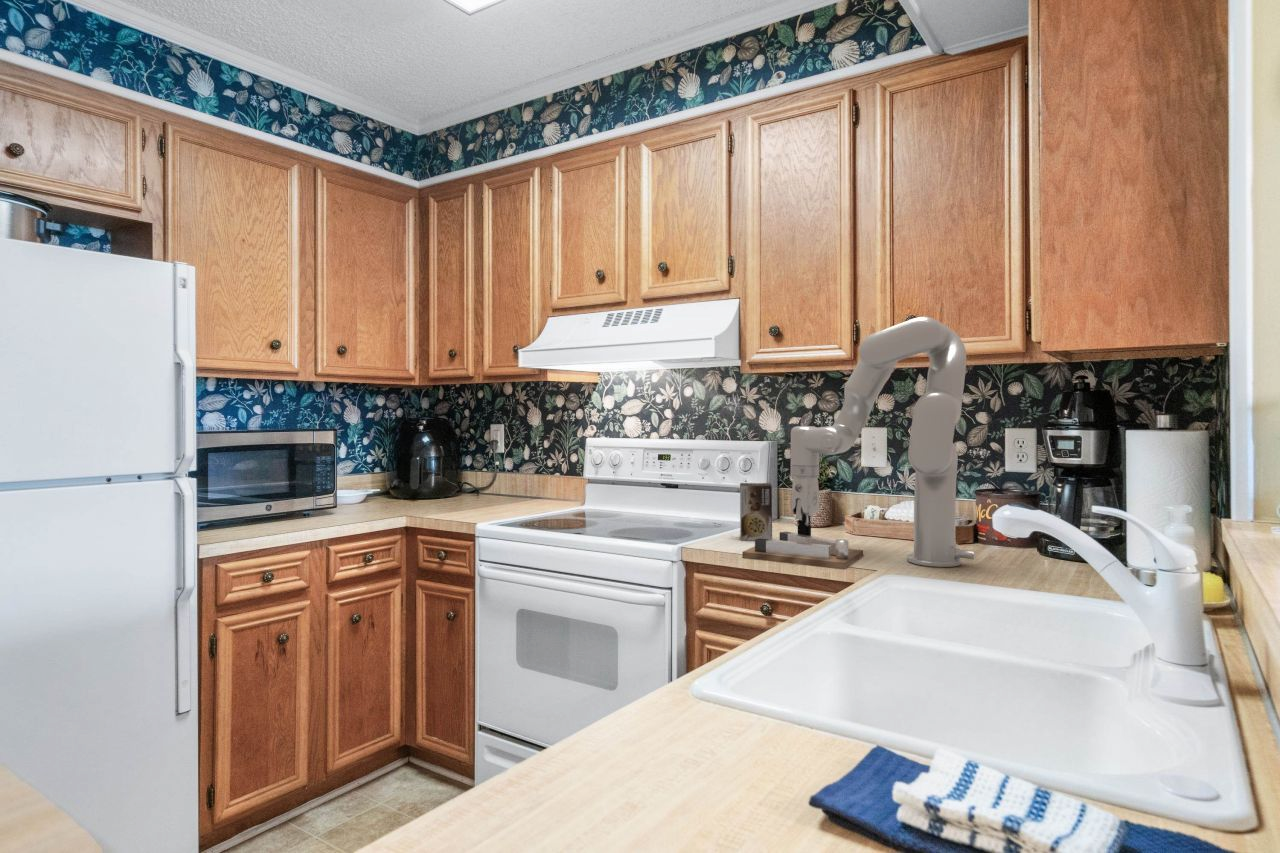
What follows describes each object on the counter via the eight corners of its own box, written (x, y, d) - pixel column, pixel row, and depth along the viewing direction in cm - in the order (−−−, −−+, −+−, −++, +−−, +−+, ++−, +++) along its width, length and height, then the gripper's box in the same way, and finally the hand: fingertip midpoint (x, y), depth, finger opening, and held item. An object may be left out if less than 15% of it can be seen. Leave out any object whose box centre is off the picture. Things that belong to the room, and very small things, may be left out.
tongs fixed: (849, 557, 183) (849, 539, 183) (845, 561, 179) (845, 542, 179) (760, 548, 194) (761, 531, 194) (754, 551, 191) (754, 534, 191)
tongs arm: (841, 554, 186) (841, 542, 186) (835, 555, 185) (835, 543, 184) (785, 542, 202) (785, 531, 201) (779, 543, 200) (779, 532, 200)
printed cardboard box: (770, 537, 220) (771, 482, 219) (772, 541, 213) (772, 485, 213) (739, 536, 221) (739, 482, 220) (740, 540, 214) (740, 484, 214)
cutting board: (863, 556, 193) (863, 550, 192) (844, 569, 177) (844, 562, 177) (767, 546, 206) (767, 540, 206) (742, 557, 190) (742, 551, 190)
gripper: (809, 474, 193) (809, 545, 193) (826, 470, 205) (826, 536, 206) (781, 473, 196) (781, 542, 197) (800, 469, 209) (799, 534, 210)
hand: (804, 539), depth 201 cm, fingers closed
